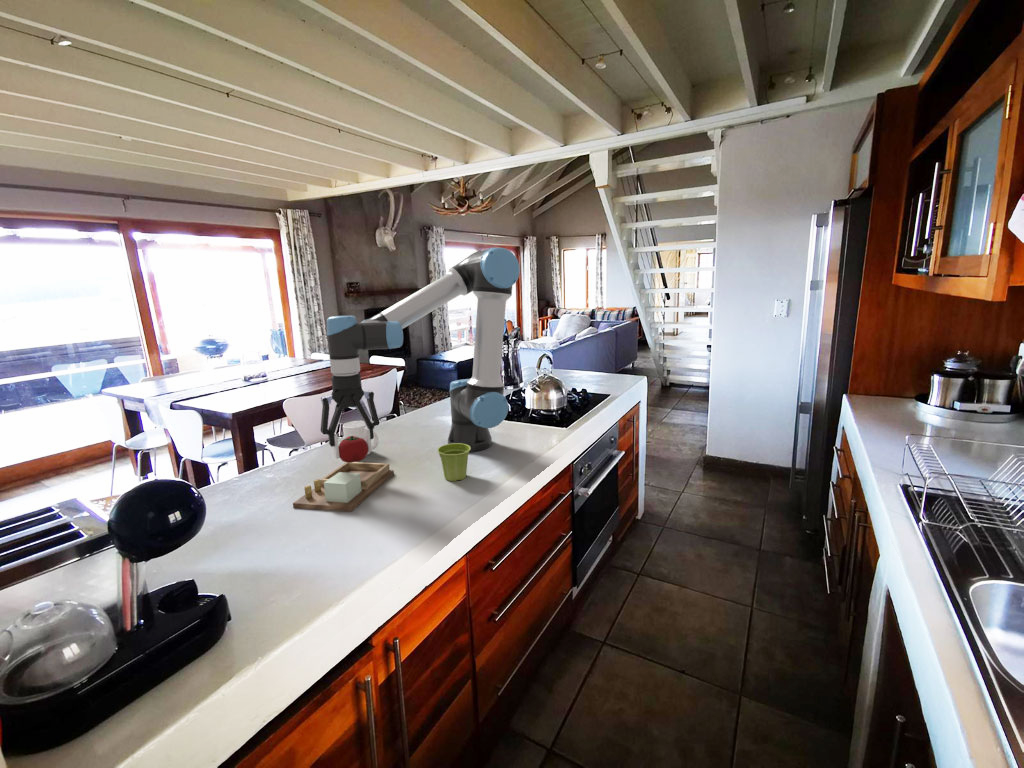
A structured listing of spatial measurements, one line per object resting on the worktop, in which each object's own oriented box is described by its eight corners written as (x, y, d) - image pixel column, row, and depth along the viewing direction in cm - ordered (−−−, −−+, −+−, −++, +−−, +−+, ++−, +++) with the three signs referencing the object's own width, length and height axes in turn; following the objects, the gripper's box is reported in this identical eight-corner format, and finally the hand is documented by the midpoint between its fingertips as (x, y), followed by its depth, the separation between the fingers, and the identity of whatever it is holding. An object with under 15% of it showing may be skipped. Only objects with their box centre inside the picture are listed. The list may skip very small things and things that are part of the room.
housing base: (394, 474, 138) (392, 460, 137) (351, 511, 115) (349, 495, 114) (344, 471, 141) (343, 458, 140) (293, 507, 118) (291, 492, 117)
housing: (361, 491, 124) (359, 473, 123) (347, 502, 117) (345, 484, 116) (341, 489, 125) (339, 472, 124) (325, 501, 118) (323, 482, 117)
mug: (386, 451, 158) (383, 422, 156) (371, 460, 150) (368, 429, 148) (356, 448, 162) (353, 419, 160) (340, 456, 154) (337, 426, 152)
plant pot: (477, 472, 137) (475, 444, 135) (463, 485, 128) (461, 455, 127) (448, 469, 140) (446, 442, 138) (433, 482, 131) (431, 452, 130)
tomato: (373, 459, 132) (371, 435, 130) (346, 467, 126) (344, 442, 125) (359, 453, 137) (356, 429, 136) (332, 461, 131) (330, 436, 130)
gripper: (379, 367, 135) (385, 443, 140) (301, 376, 124) (310, 457, 129) (388, 371, 129) (393, 449, 134) (307, 380, 118) (316, 465, 122)
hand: (353, 453), depth 131 cm, fingers closed on tomato, 8 cm apart
